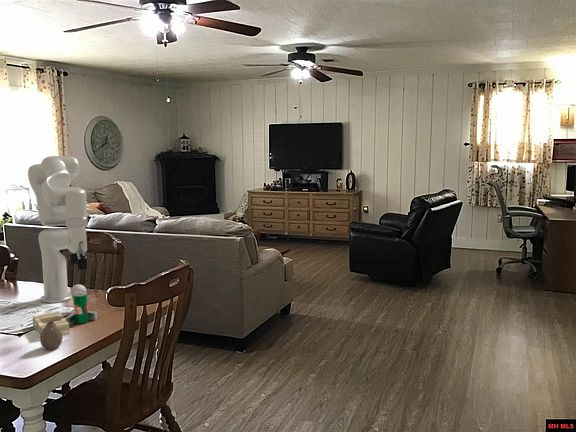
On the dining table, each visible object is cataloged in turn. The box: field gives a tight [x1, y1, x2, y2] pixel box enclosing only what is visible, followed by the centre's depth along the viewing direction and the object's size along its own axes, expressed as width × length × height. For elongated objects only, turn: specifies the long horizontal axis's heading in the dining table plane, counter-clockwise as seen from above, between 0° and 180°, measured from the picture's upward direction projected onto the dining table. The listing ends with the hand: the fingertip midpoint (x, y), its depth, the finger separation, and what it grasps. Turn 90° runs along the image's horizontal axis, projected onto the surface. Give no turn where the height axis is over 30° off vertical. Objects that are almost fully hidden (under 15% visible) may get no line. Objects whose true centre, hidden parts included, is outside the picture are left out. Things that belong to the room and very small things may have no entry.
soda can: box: [72, 290, 90, 325], centre depth 196 cm, size 5×5×12 cm
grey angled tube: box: [65, 309, 98, 326], centre depth 199 cm, size 8×12×3 cm
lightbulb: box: [69, 284, 87, 299], centre depth 210 cm, size 6×6×11 cm
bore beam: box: [32, 311, 70, 336], centre depth 188 cm, size 16×9×4 cm, turn 37°
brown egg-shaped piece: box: [39, 322, 64, 351], centre depth 171 cm, size 7×7×9 cm
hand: (78, 266), depth 194 cm, fingers open, 9 cm apart
